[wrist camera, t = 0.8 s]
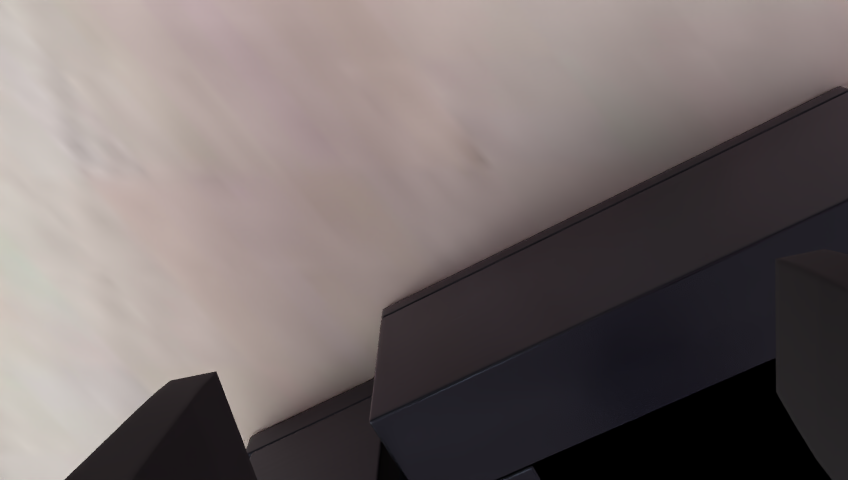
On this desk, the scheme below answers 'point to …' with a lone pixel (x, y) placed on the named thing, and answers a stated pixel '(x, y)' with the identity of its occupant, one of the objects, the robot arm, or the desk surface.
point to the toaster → (625, 327)
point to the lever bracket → (325, 443)
